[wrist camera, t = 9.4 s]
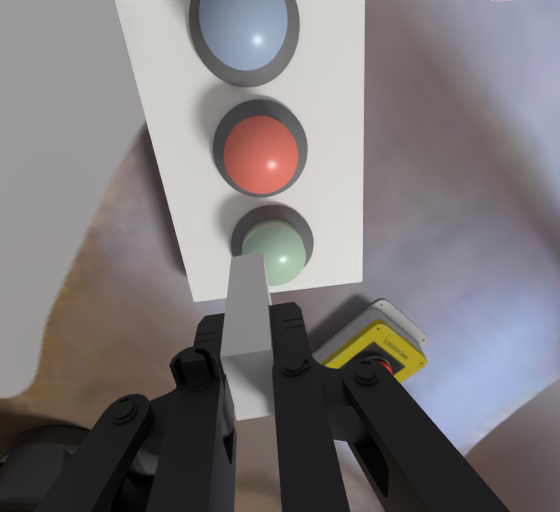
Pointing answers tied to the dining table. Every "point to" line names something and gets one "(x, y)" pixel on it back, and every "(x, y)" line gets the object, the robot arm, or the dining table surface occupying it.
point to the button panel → (244, 103)
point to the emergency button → (378, 342)
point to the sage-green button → (276, 249)
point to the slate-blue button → (244, 30)
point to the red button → (260, 154)
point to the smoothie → (499, 0)
